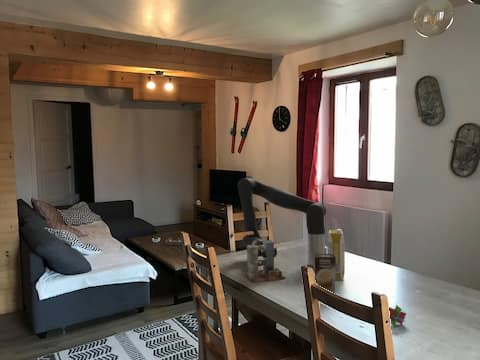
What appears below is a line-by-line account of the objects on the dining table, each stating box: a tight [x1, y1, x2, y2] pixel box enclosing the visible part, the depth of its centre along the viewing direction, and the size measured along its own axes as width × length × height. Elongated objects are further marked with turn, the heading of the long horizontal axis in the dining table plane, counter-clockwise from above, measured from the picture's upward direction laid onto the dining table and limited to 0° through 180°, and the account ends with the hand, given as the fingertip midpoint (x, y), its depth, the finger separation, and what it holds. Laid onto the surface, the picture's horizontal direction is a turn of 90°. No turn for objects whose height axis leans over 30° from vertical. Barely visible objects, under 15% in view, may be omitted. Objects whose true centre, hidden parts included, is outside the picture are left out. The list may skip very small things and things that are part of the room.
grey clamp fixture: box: [258, 239, 275, 273], centre depth 200 cm, size 8×5×15 cm, turn 104°
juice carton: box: [326, 228, 346, 282], centre depth 193 cm, size 9×8×24 cm
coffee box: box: [312, 253, 336, 294], centre depth 177 cm, size 9×6×16 cm
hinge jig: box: [244, 245, 286, 283], centre depth 198 cm, size 17×13×16 cm
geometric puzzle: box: [389, 304, 407, 328], centre depth 142 cm, size 7×7×8 cm
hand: (270, 255), depth 198 cm, fingers closed on grey clamp fixture, 4 cm apart
